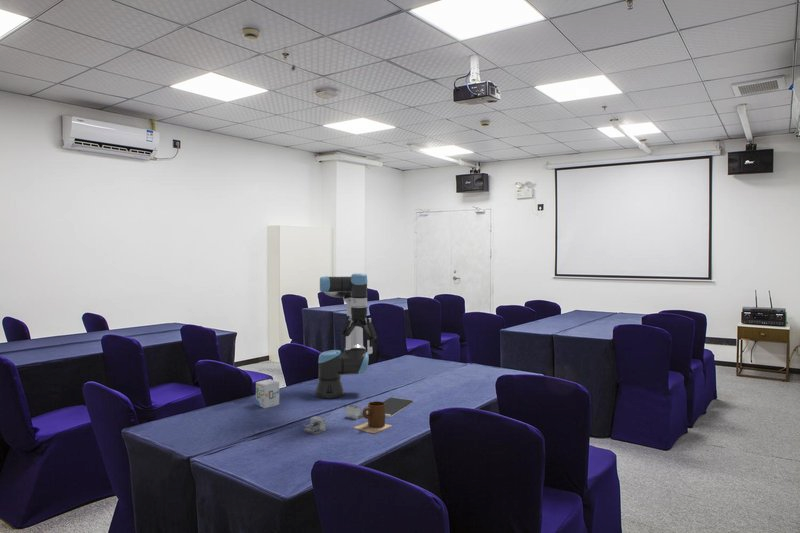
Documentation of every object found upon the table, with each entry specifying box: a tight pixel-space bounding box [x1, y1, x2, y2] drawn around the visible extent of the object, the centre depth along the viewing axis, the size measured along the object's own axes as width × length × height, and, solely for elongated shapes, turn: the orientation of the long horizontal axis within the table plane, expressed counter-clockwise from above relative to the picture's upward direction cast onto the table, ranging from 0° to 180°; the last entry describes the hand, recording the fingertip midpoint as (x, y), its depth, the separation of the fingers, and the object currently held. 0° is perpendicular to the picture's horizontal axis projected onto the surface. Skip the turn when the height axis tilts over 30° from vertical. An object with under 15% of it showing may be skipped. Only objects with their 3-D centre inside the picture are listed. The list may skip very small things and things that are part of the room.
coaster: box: [352, 421, 393, 435], centre depth 217 cm, size 12×12×1 cm
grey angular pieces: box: [302, 404, 364, 436], centre depth 221 cm, size 7×33×5 cm, turn 142°
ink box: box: [255, 378, 280, 409], centre depth 250 cm, size 8×8×12 cm
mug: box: [361, 400, 386, 428], centre depth 217 cm, size 12×8×9 cm, turn 138°
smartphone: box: [366, 396, 414, 418], centre depth 246 cm, size 13×27×2 cm, turn 154°
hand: (358, 351), depth 236 cm, fingers open, 13 cm apart
